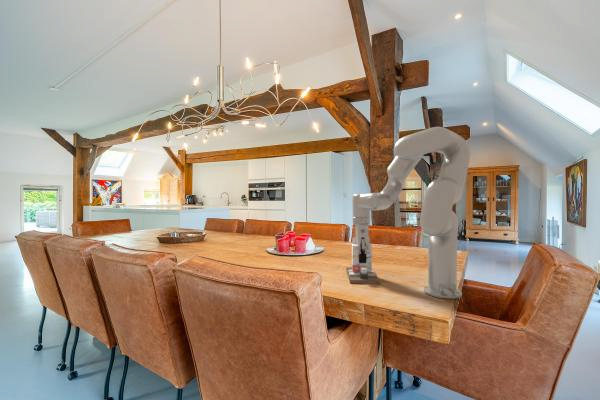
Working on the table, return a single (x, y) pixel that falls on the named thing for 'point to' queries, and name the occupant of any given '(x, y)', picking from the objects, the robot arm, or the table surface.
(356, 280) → the board
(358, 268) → the ink cartridge box
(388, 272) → the table surface
